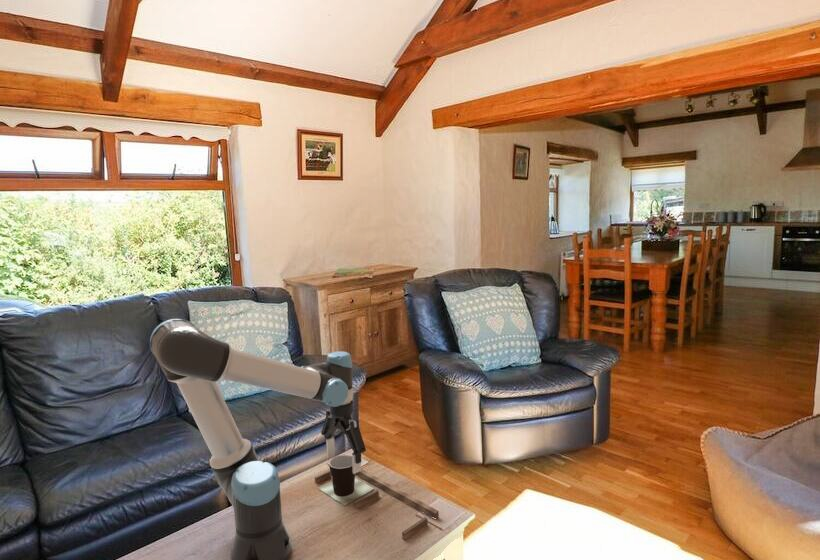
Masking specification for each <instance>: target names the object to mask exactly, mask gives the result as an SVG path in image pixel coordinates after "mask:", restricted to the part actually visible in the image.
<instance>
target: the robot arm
mask: <svg viewBox="0 0 820 560" xmlns="http://www.w3.org/2000/svg"><path fill="white" fill-rule="evenodd" d="M149 338H150V339H149V349H150V352H151V353H152V355H153V357H154V356H155V358H156V360H157V362H158V365H160V368H161V370H162V372H163V374H164V376H165V377H166V380H167V381H168V382H171V383H175V384H176V385H177V387H178V389H179V391H180V393H181V395H182V397H183V399H184V401H185V403H186V404H187V405H186V406H187V407H188V409H189V412H190V413H191V415H192V417H193V420H194V422H195V424H196V425H197V427H198V429H199V431H200V433H201V435H202V437H203V439H204V442H205V444H206V446H207V447H208V449H209V452H210V454H211V458H210V459H209V466H210V468H211V469H212V472H213V474H214V478H215V481H216V483H217V485H218V486H219V487H220V488H221V490H222V491H223V492H224V494H225V496H226V497H227V499H228V502H230V504H231V506H232V507H233V513H234V514H233V515H234V527H235V535H234V538H233V543H232V546H231V551H230V560H287V559H288V558H289V556H290V554H291V552H292V543H291V538H290V535H289V533H288V531H287V528H286V527H285V525H284V522H283V514H282V499H281V480H280V476H279V472H278V469H277V468H276V467H275V465H273V464H272V463H270V462H269V461H268V462H267V461H265V462H264V461H263V460H259V458H258V455H257V453H256V450H255V449H254V447H253V445H252V442H251V441H250V440H249V439H246V438H243V437H242V435H241V433H240V430H239V428H238V426H237V423H236V422H235V419H234V418H233V415H232V413H231V411H230V409H229V407H228V405H227V401H226V400H225V398H224V396H223V393H222V392H221V390H220V387H219V385H218V382H219V381H221V380H226V381H229V382H235V383H239V384H243V385H248V386H252V387H256V388H262V389H265V390H270V391H275V392H280V393H283V394H287V395H291V396H297V397H301V398H306V399H309V400H313V401H318V402H322V403H324V404H325V405H326V406H328V407H329V408H328V409H329V410H326V411H325V419H324V423H323V425H322V429H321V431H320V432H321V436H324V439H325V446H326V459H327V460H331V459H332V458H334V457H336V450H335V449H336V447H335V446H336V445H335V444H336V443H335V437H334V435H335V433H336V432H337V430H340V431H341V432H342V433H343V435H345V438H347V441H348V443H349V445H350V447H351V449H352V453H351V456H352V468H353V474H355V473H357V472H359V471H361V469H362V464H361V463H362V453H364V452H366V451H367V450H366V449H367V448H366V445H365V442H364V439H363V436H362V433H361V430H360V425H359V421H358V419H355V420H354V419H353V418H352V415H353V413H354V401H353V399H354V394H353V393H354V392H353V361H352V356H351V354H350V353H349V352H347V351H339V350H338V351H333V352H329V353H328V354H327V358H326V361H323V362H318V363H315V364H308V365H301V366H299V365H293V364H290V363H286V362H283V361H278V360H275V359H272V358H269V357H264V356H261V355H260V356H259V355H257V354H254V353H249V352H245V351H241V350H237V349H235V348H232V347H231V344H230V343H228V342H225V341H222V340H218V339H216V338H214V337H212V336H210V335H208V334H206V333H205V332H203V331H202V330H201V329H200V328H198V327H196V325H195V324H194V323H193V322H191V321H189V320H187V319H183V318H171V319H168V320H165V321H162V322H161V323H159V324H158V325H157V326H156V327H155V328H154V329H153V331H152V333H151V335H150V337H149Z"/></svg>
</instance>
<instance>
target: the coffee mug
mask: <svg viewBox="0 0 820 560" xmlns="http://www.w3.org/2000/svg"><path fill="white" fill-rule="evenodd" d="M328 466H329V470H330V472H331V477H330V478H331V481H332V483H333V489H334V493H335V495H337V496H348V495H350V494H352V493H353V492H354V484H355V478H356V475H355V474H353V468H352V455H350V454H340V455H337V456H336V455H335V456H334V457H332V458H330V459H329V461H328Z"/></svg>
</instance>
